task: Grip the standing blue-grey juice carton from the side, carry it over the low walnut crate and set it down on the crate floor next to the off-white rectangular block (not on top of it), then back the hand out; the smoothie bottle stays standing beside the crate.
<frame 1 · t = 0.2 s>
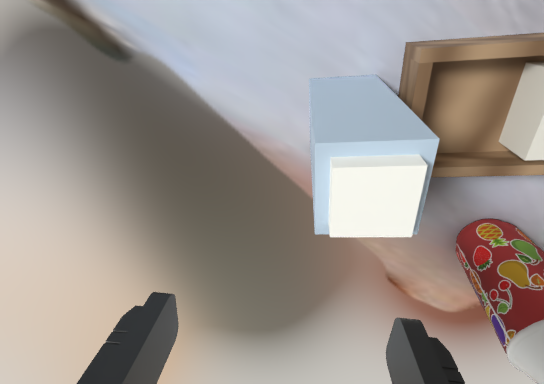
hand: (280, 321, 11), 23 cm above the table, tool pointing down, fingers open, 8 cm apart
smoothie: (480, 235, 36), on the table
carton: (340, 109, 29), on the table
off-white rectangular block: (539, 103, 26), point 1 cm above the table, touching crate
crate: (487, 102, 28), on the table
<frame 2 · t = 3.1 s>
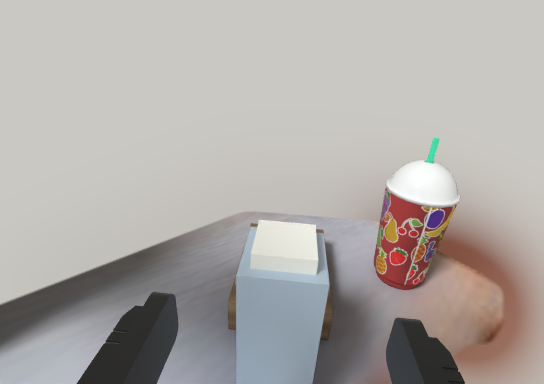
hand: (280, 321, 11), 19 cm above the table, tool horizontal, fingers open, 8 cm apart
smoothie: (396, 276, 43), on the table
carton: (273, 381, 28), on the table
crate: (282, 283, 40), on the table
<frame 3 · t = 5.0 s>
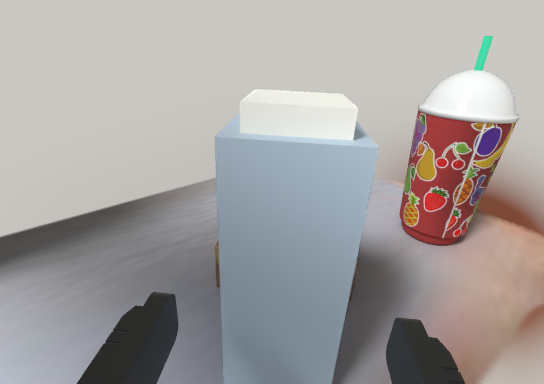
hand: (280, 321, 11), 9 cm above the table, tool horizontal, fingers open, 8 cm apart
smoothie: (427, 233, 35), on the table
carton: (278, 350, 20), on the table
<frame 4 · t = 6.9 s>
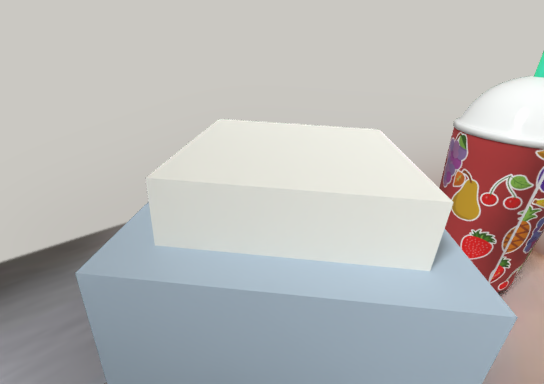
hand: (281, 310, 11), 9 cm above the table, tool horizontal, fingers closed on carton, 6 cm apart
smoothie: (460, 278, 28), on the table
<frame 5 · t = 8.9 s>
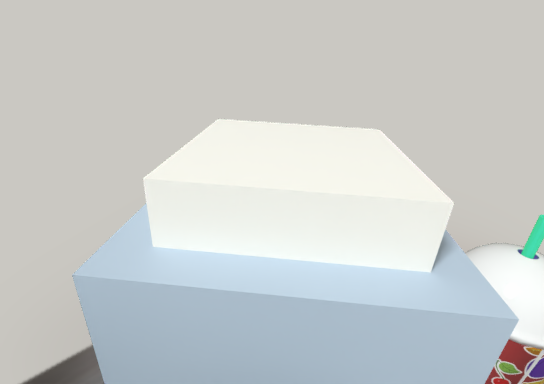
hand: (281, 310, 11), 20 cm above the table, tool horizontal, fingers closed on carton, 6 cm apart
when the fingers open (11 cm above the table, at t = 11.3 s): carton drops 1 cm, resting on crate.
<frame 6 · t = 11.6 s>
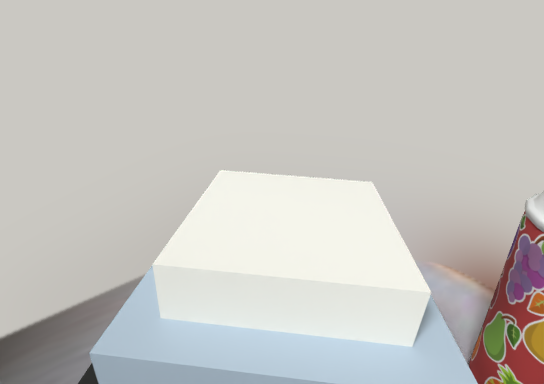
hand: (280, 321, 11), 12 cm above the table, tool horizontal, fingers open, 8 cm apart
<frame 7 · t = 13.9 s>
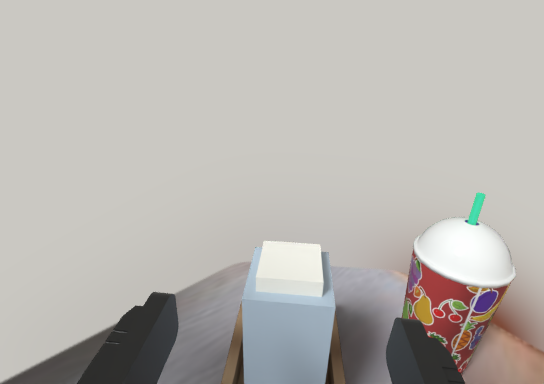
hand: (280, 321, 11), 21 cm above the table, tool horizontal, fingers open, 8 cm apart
smoothie: (428, 357, 34), on the table
crate: (284, 375, 32), on the table
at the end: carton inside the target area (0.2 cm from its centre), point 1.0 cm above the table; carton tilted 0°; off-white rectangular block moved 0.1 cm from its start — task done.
